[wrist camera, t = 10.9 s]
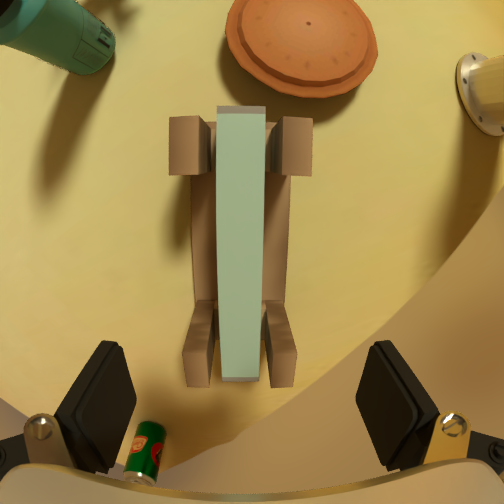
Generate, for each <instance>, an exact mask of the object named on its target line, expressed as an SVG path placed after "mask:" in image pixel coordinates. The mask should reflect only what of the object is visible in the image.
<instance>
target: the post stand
mask: <svg viewBox="0 0 504 504" xmlns="http://www.w3.org/2000/svg"><path fill="white" fill-rule="evenodd" d="M216 129H217V122H204V121H203V119H202V118H201V117H200V116H180V117H169V175H191V222H192V249H193V270H194V287H195V302H196V306H195V310H194V313H193V316H192V320H191V323H190V327H189V330H188V334H187V337H186V341H185V344H184V348H183V351H182V356H183V363H184V370H185V376H186V383H187V387H200V388H209V385H210V377H211V369H212V361H213V353H214V346H215V339H217V340H220V329H219V305H218V275H217V231H216ZM312 140H313V118H303V117H288V116H283V117H282V118H281V119H280V120H279V121H278V122H265V183H264V229H263V267H262V302H261V333H260V340H265V346H266V354H267V362H268V370H269V378H270V386H271V388H285V387H293V383H294V375H295V368H296V360H297V350H296V346H295V343H294V339H293V336H292V332H291V328H290V325H289V321H288V318H287V314H286V311H285V307H284V302H285V287H286V271H287V253H288V234H289V211H290V184H291V175H292V176H312Z"/></svg>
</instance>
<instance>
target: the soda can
mask: <svg viewBox="0 0 504 504" xmlns="http://www.w3.org/2000/svg"><path fill="white" fill-rule="evenodd" d="M165 439H166V431H165V430H164V428H163V427H162V426H160V425H159V424H157V423H155V422H151V421H145V422H142V423H140V424H138V427H137V430H136V433H135V436H134V439H133V442H132V445H131V449H130V452H129V455H128V458H127V461H126V465H125V468H124V471H123V474H124V481H126V482H131V483H136V484H141V485H146V486H152V487H153V486H154V485H155V484H156V481H157V476H158V471H159V466H160V461H161V457H162V452H163V448H164V443H165Z"/></svg>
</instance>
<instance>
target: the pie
mask: <svg viewBox="0 0 504 504" xmlns="http://www.w3.org/2000/svg"><path fill="white" fill-rule="evenodd" d="M225 34H226V38H227V42H228V45H229V49H230V51H231V52H232V54H233V55H234V57H235V59H236V60H237V62H238V63H239V65H240V66H241V67H242V68H243V69H245V70H246V71H247V72H248V73H250V74H251V75H252V76H254V77H255V78H256V79H258V80H259V81H261V82H262V83H264V84H266V85H267V86H269V87H271V88H272V89H274V90H276V91H277V92H279V93H284V94H288V95H293V96H297V97H301V98H328V97H332V96H336V95H341V94H345V93H347V92H348V91H350V90H352V89H353V88H355V87H357V86H358V85H360V84H361V83H362V82H363V81H364V80H365V78H366V77H367V76H368V75H369V74H370V73H371V72H372V70H373V67H374V65H375V62H376V59H377V56H378V51H377V44H376V38H375V34H374V31H373V28H372V25H371V22H370V20H369V19H368V18H367V16H366V15H365V13H364V12H363V11H362V9H361V8H360V7H359V6H358V5H357V4H356V3H355V2H354V1H353V0H235V1H234V3H233V5H232V7H231V9H230V11H229V13H228V17H227V22H226V28H225Z"/></svg>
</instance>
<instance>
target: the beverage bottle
mask: <svg viewBox="0 0 504 504" xmlns="http://www.w3.org/2000/svg"><path fill="white" fill-rule="evenodd" d="M92 15H93V13H92V14H91V12H90V13H89V12H88V11H87V10H85V9H84V8H83V7H82V6H80V5H79V4H78V1H77V2H76V0H75V1H74V0H0V45H5V46H8V47H11V48H14V49H17V50H19V51H22V52H25V53H27V54H30V55H33V56H35V57H38V58H40V59H42V60H44V62H45V61H46V62H49V64H50V63H51V64H52V66H53V65H56V66H57V67H58V66H59V67H61V68H62V69H63V68H64V69H66V70H69V73H71V72H73V73H76V74H78V76H79V75H87V74H91V73H94V72H96V71H98V70H99V69H101V68H102V67H103V66H104V65H105V64H106V63H107V62H108V61H109V59H110V58H111V56H112V54H113V52H114V50H115V38H114V36H115V35H113V33H112V32H111V31H110V29H109V27H108V28H106V25H105V26H104V25H103V24H104V23H103V22H102V21H101V20H100V19H99V20H100V21H101V22H102V23H101V22H100V21H98V20H97V19H96V18H95V15H94V16H92ZM38 58H37V59H38ZM40 59H39V60H40ZM47 64H48V63H47ZM66 70H65V71H66ZM67 72H68V71H67Z"/></svg>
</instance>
